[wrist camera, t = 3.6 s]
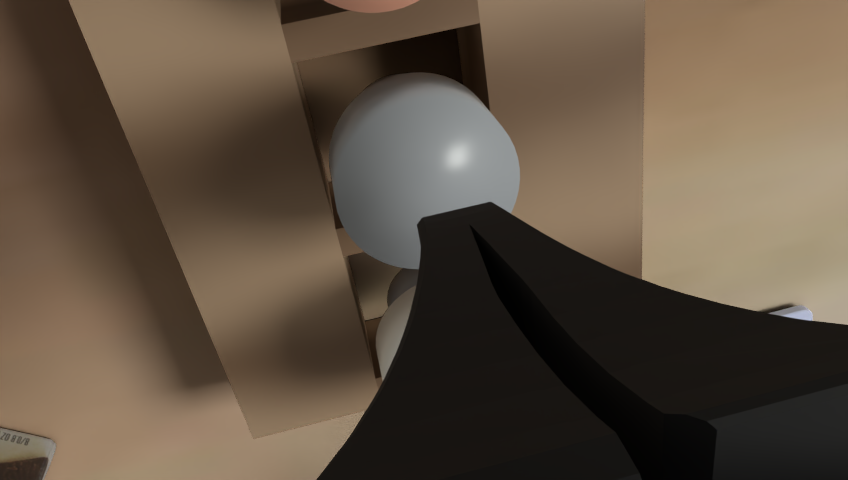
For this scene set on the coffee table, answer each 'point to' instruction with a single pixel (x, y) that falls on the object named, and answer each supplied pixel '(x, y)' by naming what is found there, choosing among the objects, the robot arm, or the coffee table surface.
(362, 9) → the pink ball
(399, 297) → the white ball
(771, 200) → the coffee table surface
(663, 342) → the robot arm
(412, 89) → the blue-grey ball
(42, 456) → the coffee box
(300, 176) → the wooden tray
